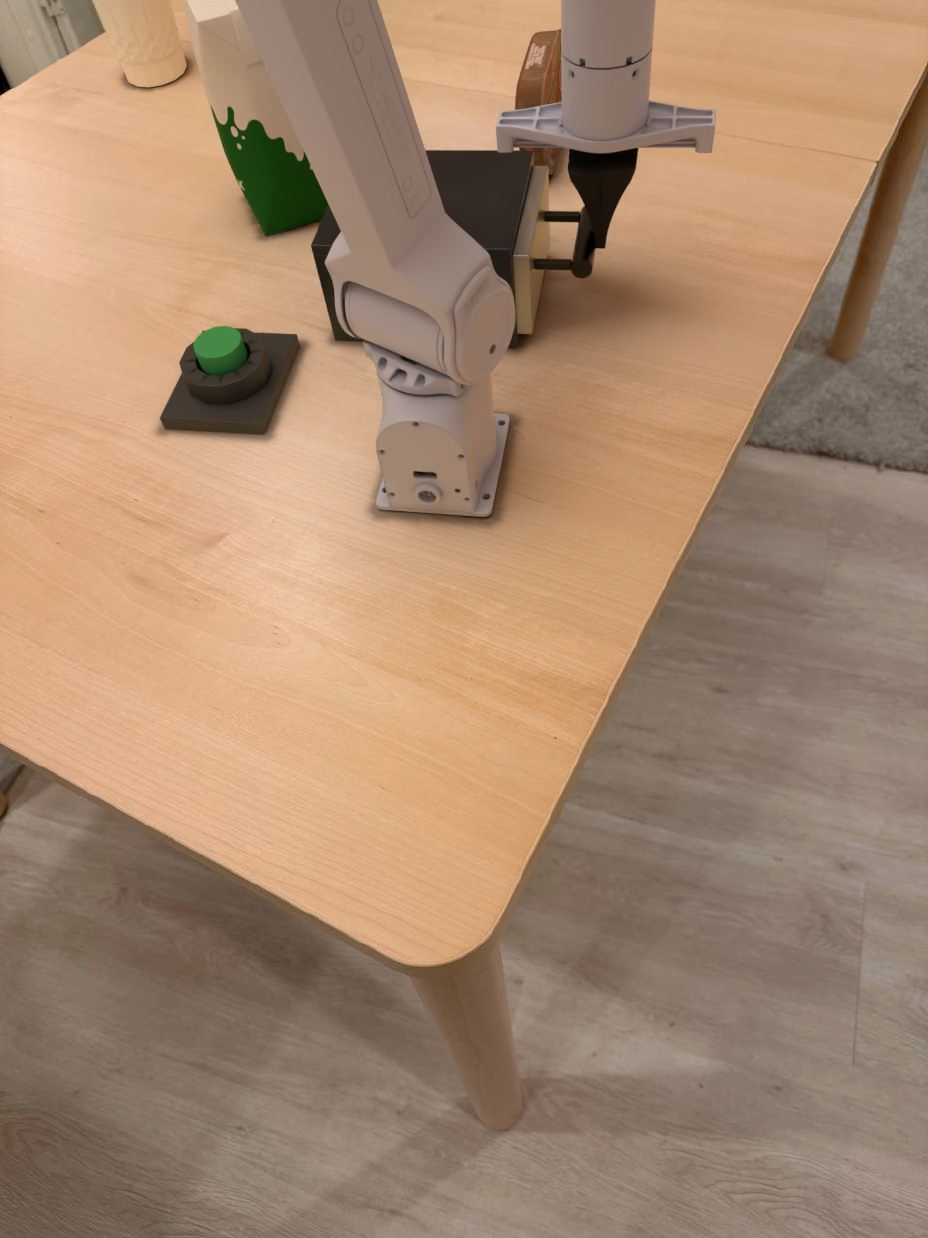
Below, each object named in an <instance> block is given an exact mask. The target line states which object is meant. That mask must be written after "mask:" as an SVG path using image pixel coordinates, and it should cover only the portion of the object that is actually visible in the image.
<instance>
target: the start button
mask: <svg viewBox="0 0 928 1238" xmlns="http://www.w3.org/2000/svg"><path fill="white" fill-rule="evenodd" d="M235 328H236V327H232V326H228V325H218V326H213V327H211V328H208V329H205V330H203V331H204V332H203V333H202V332H201V333H200V334H199V335H197V337H196V338H195V340H194V341H195V342H194V341H193V342H194V351H195V353H196V356H197V358H198V361H199V363H200V365H201V368H202V369H203V371H205V372H206V373H208V374H210V375H224V374H228V373H231V372H234V371H236V370H237V369H239V368H240V367H241V366H243V365H244V364H245V362H246V360H247V356H248V355H247V351H246V348H245V345H244V342H243V339H242V337H241V334H240V333H239V331H238V330H236V329H235Z"/></svg>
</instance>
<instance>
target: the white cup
mask: <svg viewBox="0 0 928 1238" xmlns="http://www.w3.org/2000/svg"><path fill="white" fill-rule="evenodd" d="M91 1H92V4H93V6H94V8H95V11H96V13H97V16H98V18H99V21H100V23H101V25H102V27H103V30H104V31H105V34H106V36H107V38H108V42H109V43H110V45H111V48H112V49H113V52H114V55H115V56H116V58H117V59H118V60H119V63H120V65H121V67H122V69H123V72H124V75H125V77H126V79H127V82H128V83H129V84H131V85H133V86H135V87H139V88H155V87H160V86H164V85H167V84H169V83H171V82H173V81H176V80H177V79H178V78H180V77H181V76H182V75H183V74H184V73H185V71H186V69H187V68H188V67H187V62H186V57H185V54H184V51H183V48H182V44H181V39H180V37H181V36H180V33H179V28H178V25H177V20H176V17H175V12H174V9H173V6H172V2H171V0H91Z"/></svg>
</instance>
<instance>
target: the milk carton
mask: <svg viewBox="0 0 928 1238" xmlns="http://www.w3.org/2000/svg"><path fill="white" fill-rule="evenodd" d="M182 3H183V9H184V13H185V18H186V22H187V26H188V31H189V36H190V41H191V46H192V50H193V53H194V57H195V61H196V65H197V68H198V71H199V76H200V79H201V82H202V85H203V88H204V93H205V95H206V98H207V101H208V106H209V107H210V111H211V115H212V117H213V121H214V123H215V127H216V130H217V133H218V136H219V140H220V143H221V145H222V146H221V147H222V149H223V152H224V155H225V157H226V160H227V162H228V164H229V167H230V168H231V171H232V173H233V176H234V178H235V181H236V182H237V185H238V186H239V188H240V190H241V192H242V194H243V196H244V198H245V199H246V202H247V203H248V205H249V208H250V209H251V211H252V213H253V215H254V217H255V218H256V221H257V222H258V225H259V226H260V228H261V230H262V232H263V234H264V236H265V237H269V236H272V235H276V234H279V233H283V232H286V231H289V230H293V229H296V228H300V227H302V226H306V225H309V224H312V223H315V222H319V221H321V220H322V218H323V216H324V213H325V211H326V209H327V206H328V202H327V200H326V197H325V195H324V193H323V191H322V189H321V186H320V184H319V182H318V180H317V178H316V176H315V173H314V171H313V169H312V167H311V165H310V163H309V160H308V158H307V156H306V154H305V152H304V150H303V147H302V145H301V143H300V141H299V139H298V136H297V134H296V132H295V130H294V128H293V126H292V123H291V121H290V119H289V117H288V115H287V113H286V110H285V108H284V106H283V104H282V102H281V99H280V97H279V95H278V93H277V91H276V89H275V86H274V84H273V82H272V80H271V78H270V76H269V73H268V71H267V69H266V67H265V65H264V62H263V60H262V58H261V56H260V54H259V52H258V49H257V47H256V45H255V43H254V41H253V39H252V36H251V34H250V32H249V30H248V28H247V25H246V23H245V21H244V19H243V17H242V15H241V12H240V10H239V8H238V6H237V4H236V2H235V0H182Z"/></svg>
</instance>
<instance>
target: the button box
mask: <svg viewBox="0 0 928 1238" xmlns="http://www.w3.org/2000/svg"><path fill="white" fill-rule="evenodd" d="M234 328H235V329H236V330H238V331H239V333H240V334H241V337H242V339H243V342H244V345H245V348H246V351H247V355H248V356H247V360H246V362H245V364H244V365H243V366H241V367H240V368H239V369H237V370H236V371H234V372H231V373H228V374H224V375H210V374H208V373H206V372H205V371H203V369H202V368H201V365H200V363H199V361H198V358H197V356H196V353H195V351H194V342H195V340H194V341H193V342H191V343H190V344H189V345H188V346H187V347H186V348H185V350H184V352H183V354H182V356H181V357H180V360H179V362H178V363H179V368H180V371H181V374H180V375H179V378H178V380H177V381H176V383H175V385H174V388H173V390H172V392H171V394H170V396H169V398H168V400H167V402H166V404H165V406H164V408H163V411H162V412H161V414H160V416H159V421H161V422H160V423H161V424H162V426H163V428H164V430H176V431H192V432H206V433H207V432H209V433H225V434H226V433H227V434H240V435H241V434H242V435H243V434H245V435H259V436H265V435H266V432H267V431H268V427H269V425H270V423H271V419H272V417H273V415H274V412H275V410H276V408H277V406H278V402H279V400H280V397H281V395H282V392H283V390H284V388H285V385H286V382H287V380H288V377H289V375H290V372H291V370H292V368H293V365H294V362H295V360H296V358H297V355H298V352H299V350H300V347H301V342H300V341H299V337H298V334H297V333H282V332H281V333H280V332H279V333H277V332H276V333H275V332H254V331H252V330H250V329H248V328H243V327H242V328H241V327H240V328H239V327H234ZM204 331H205V330H202V331H201V333H203V332H204Z"/></svg>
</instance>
